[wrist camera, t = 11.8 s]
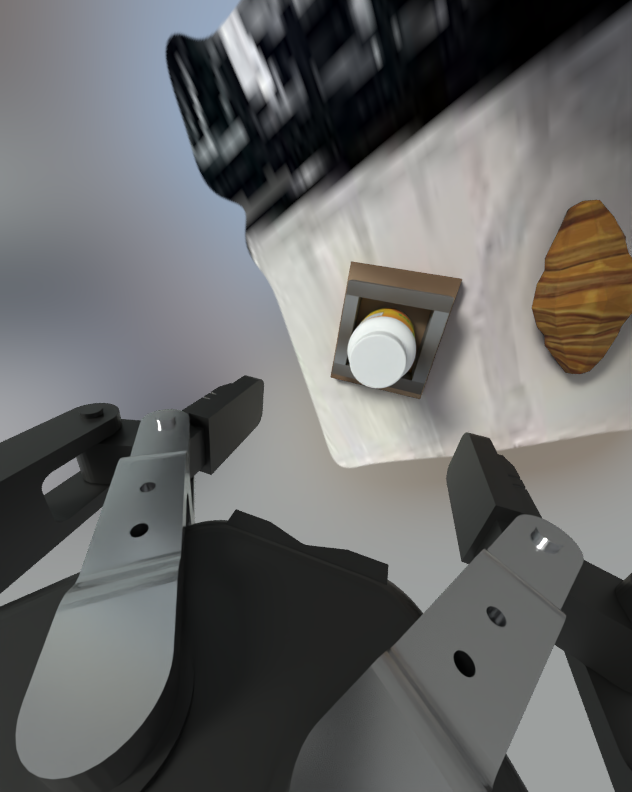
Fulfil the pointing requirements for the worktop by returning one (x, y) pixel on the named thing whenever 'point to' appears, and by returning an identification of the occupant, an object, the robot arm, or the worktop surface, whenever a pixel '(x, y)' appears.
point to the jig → (405, 291)
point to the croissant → (584, 288)
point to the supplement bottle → (382, 348)
